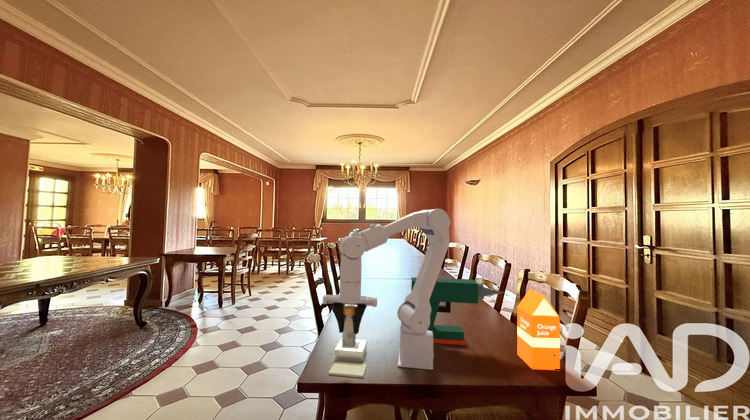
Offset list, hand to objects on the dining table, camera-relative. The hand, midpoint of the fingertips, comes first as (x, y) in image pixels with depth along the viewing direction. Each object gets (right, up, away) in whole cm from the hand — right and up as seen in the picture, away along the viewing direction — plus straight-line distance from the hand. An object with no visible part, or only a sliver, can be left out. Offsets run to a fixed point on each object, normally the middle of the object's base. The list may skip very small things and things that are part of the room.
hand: (349, 332), depth 76 cm
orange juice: (+54, -12, +6) cm, 56 cm away
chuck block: (0, -10, +8) cm, 13 cm away
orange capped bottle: (0, -3, 0) cm, 3 cm away
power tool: (+35, -12, +21) cm, 42 cm away
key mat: (0, -10, 0) cm, 10 cm away
